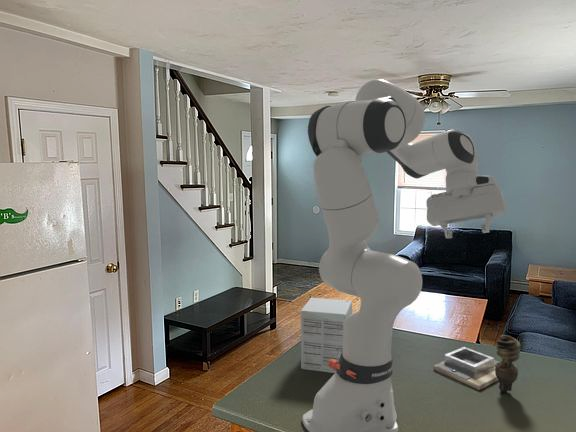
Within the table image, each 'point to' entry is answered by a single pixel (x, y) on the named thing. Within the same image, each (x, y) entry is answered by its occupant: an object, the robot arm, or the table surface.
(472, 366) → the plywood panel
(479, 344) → the table surface
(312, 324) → the supplement box
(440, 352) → the table surface
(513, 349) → the light bulb
